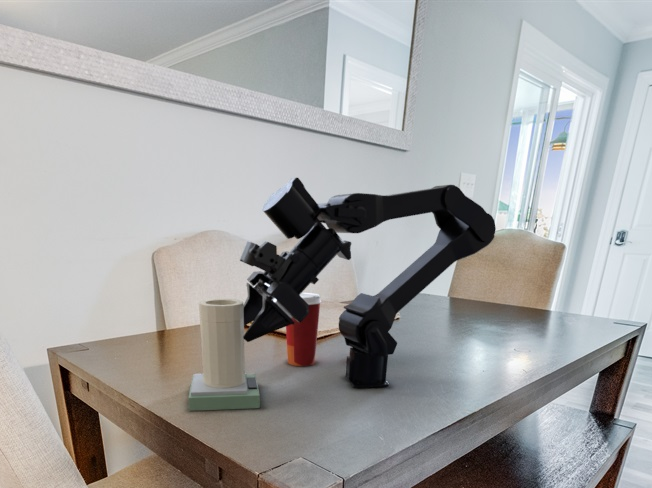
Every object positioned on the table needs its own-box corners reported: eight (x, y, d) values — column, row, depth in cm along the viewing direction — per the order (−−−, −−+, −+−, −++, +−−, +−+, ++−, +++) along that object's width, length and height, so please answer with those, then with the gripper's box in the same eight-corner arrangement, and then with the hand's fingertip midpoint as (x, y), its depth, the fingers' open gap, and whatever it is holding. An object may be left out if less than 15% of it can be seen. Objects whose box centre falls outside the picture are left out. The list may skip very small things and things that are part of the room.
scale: (255, 385, 83) (254, 370, 82) (259, 408, 73) (259, 391, 72) (193, 387, 82) (192, 372, 81) (189, 410, 72) (188, 394, 70)
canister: (236, 372, 81) (234, 297, 76) (251, 384, 75) (250, 304, 70) (198, 378, 78) (193, 300, 73) (211, 390, 72) (207, 307, 67)
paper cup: (325, 361, 98) (328, 294, 93) (308, 370, 92) (310, 298, 87) (294, 355, 102) (295, 290, 97) (275, 363, 96) (275, 295, 90)
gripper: (258, 221, 78) (196, 290, 79) (288, 222, 61) (209, 309, 62) (302, 268, 82) (243, 333, 84) (340, 281, 66) (266, 361, 67)
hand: (239, 333), depth 74 cm, fingers open, 9 cm apart
